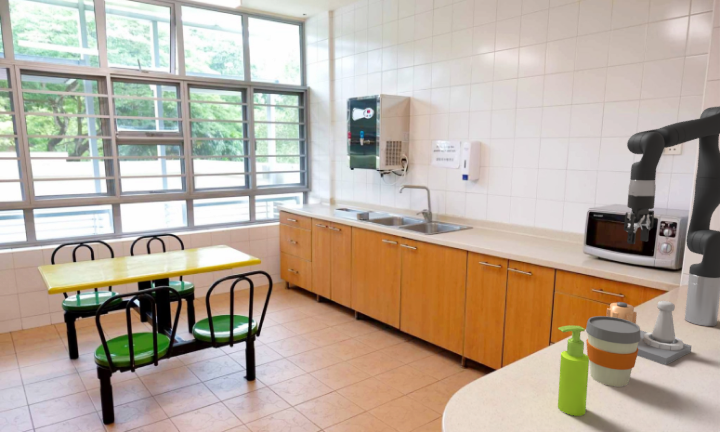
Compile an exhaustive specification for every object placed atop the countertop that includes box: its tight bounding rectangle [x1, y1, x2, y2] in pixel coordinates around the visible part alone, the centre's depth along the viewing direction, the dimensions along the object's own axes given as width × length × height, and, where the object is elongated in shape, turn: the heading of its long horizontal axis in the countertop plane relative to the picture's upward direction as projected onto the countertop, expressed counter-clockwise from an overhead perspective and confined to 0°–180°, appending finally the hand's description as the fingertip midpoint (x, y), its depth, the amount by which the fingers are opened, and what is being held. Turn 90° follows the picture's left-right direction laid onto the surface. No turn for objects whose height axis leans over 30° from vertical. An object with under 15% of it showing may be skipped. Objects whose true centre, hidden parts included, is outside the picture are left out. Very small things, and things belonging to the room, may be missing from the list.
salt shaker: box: [651, 300, 676, 344], centre depth 138 cm, size 6×6×13 cm
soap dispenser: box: [557, 325, 590, 417], centre depth 105 cm, size 6×7×20 cm
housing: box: [606, 301, 692, 366], centre depth 141 cm, size 16×21×13 cm
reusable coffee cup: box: [585, 315, 641, 388], centre depth 120 cm, size 13×13×15 cm
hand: (637, 242), depth 152 cm, fingers open, 8 cm apart
